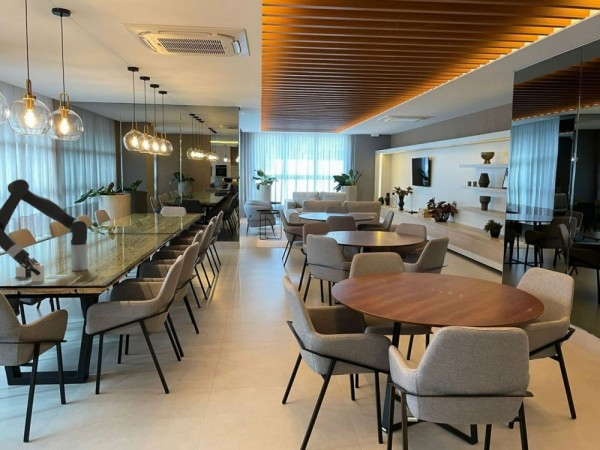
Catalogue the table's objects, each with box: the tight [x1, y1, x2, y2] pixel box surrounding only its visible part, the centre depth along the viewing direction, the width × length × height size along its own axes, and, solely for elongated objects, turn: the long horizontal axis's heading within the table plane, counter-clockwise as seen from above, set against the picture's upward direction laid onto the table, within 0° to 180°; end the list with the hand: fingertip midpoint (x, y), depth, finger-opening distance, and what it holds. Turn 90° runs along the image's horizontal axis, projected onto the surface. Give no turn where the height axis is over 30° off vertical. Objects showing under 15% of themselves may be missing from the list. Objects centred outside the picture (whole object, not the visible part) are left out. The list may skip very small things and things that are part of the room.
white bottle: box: [30, 262, 45, 281], centre depth 272 cm, size 5×5×10 cm
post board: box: [26, 273, 69, 283], centre depth 278 cm, size 19×15×5 cm
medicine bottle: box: [15, 262, 31, 278], centre depth 283 cm, size 7×7×12 cm
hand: (41, 273), depth 272 cm, fingers closed on white bottle, 5 cm apart
